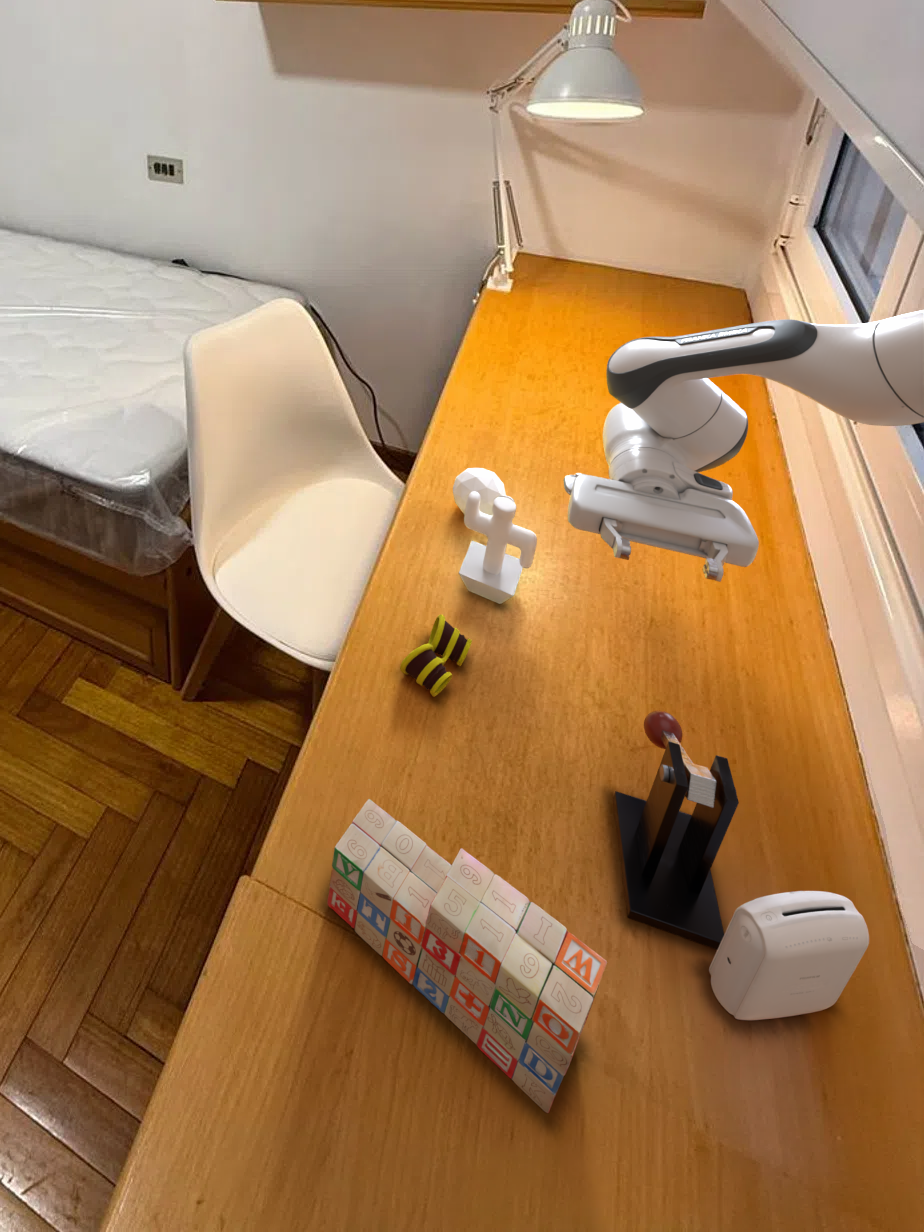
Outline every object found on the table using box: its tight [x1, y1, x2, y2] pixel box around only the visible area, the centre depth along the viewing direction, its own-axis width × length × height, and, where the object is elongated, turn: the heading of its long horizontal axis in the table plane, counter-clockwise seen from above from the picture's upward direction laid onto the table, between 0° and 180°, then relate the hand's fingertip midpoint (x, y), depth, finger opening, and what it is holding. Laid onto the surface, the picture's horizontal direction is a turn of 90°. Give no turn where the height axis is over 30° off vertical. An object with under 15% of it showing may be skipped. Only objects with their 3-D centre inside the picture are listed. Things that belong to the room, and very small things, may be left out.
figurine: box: [458, 491, 538, 605], centre depth 113 cm, size 7×9×15 cm
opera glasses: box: [399, 613, 473, 698], centre depth 103 cm, size 10×5×5 cm, turn 137°
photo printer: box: [708, 890, 870, 1021], centre depth 72 cm, size 10×4×12 cm, turn 96°
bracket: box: [612, 741, 740, 951], centre depth 80 cm, size 12×8×15 cm, turn 160°
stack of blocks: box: [326, 798, 608, 1114], centre depth 73 cm, size 21×6×12 cm, turn 47°
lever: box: [643, 710, 717, 808], centre depth 84 cm, size 15×4×4 cm, turn 161°
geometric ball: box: [452, 467, 507, 516], centre depth 128 cm, size 8×8×8 cm
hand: (668, 565), depth 96 cm, fingers open, 8 cm apart
